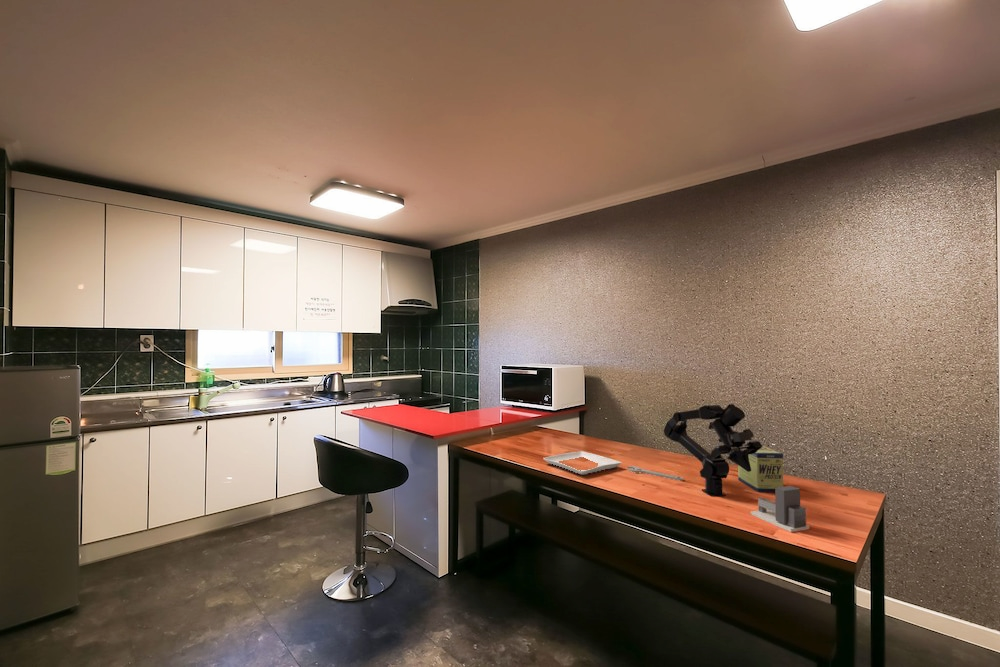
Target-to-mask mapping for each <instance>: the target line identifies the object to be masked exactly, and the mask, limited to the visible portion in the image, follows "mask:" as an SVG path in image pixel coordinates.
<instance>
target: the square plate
mask: <svg viewBox="0 0 1000 667" xmlns="http://www.w3.org/2000/svg"><path fill="white" fill-rule="evenodd" d="M579 457H584V458H586V459H588V460H590V461H593V462H595V463H598V466H597V467H595V468H592V469H588V470H581V471H580V470H577V469H575V468H572V467H570V466H567V465H565V464H562V463H559V461H563V460H569V459H575V458H579ZM542 459H543V460H544V461H545V462H546V463H548V464H550V465H552V464H553V465H552V466H555V465H556V466H555V467H557V466H559V467H558V468H560V467H562V468H561V469H563V468H565V469H564V470H566V469H568V470H567V471H569V470H570V471H569V472H571V471H573V472H572V473H574V472H575V474H577V473H578V474H579V475H589V474H588V473H591V474H593V473H592V472H595V473H598V472H597V471H599V472H602V471H601V470H604V471H606V470H605V469H608V470H610V469H613V468H617V467H619V466H621V464H622V462H623V461H618V460H617V459H613V458H609V457H606V456H602V455H599V454H595V453H591V452H587V451H582V450H579V451H574V452H566V453H560V454H556V455H550V456H546V457H543V458H542ZM578 474H577V475H578Z"/></svg>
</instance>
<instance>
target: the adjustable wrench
mask: <svg viewBox="0 0 1000 667" xmlns="http://www.w3.org/2000/svg"><path fill="white" fill-rule="evenodd" d="M631 468H633V469H631ZM628 470H629V471H632V472H636V473H635V474H639V473H638V472H641V473H640V474H643V473H647V474H646V475H649V474H651V475H650V476H653V475H656V476H655V477H658V476H661V477H660V478H663V477H666V478H665V479H668V478H670V479H669V480H673V479H675V480H674V481H677V480H680V481H679V482H683V481H684V478H683V477H682V476H677V475H671V474H667V473H662V472H658V471H653V470H647V469H645V468H641V467H638V466H633V465H629V466H627V471H628ZM629 471H628V472H629ZM632 472H631V473H632Z"/></svg>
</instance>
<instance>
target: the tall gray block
mask: <svg viewBox="0 0 1000 667" xmlns="http://www.w3.org/2000/svg"><path fill="white" fill-rule="evenodd" d="M774 494H775V497H774V498H775V501H774V502H775V503H776V521H778V522H781V523H783V524H787V506H792V505H800V506H801V488H798V487H795V486H793V485H789V486H788V485H787V486H783V487H778V488H775V492H774Z"/></svg>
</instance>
